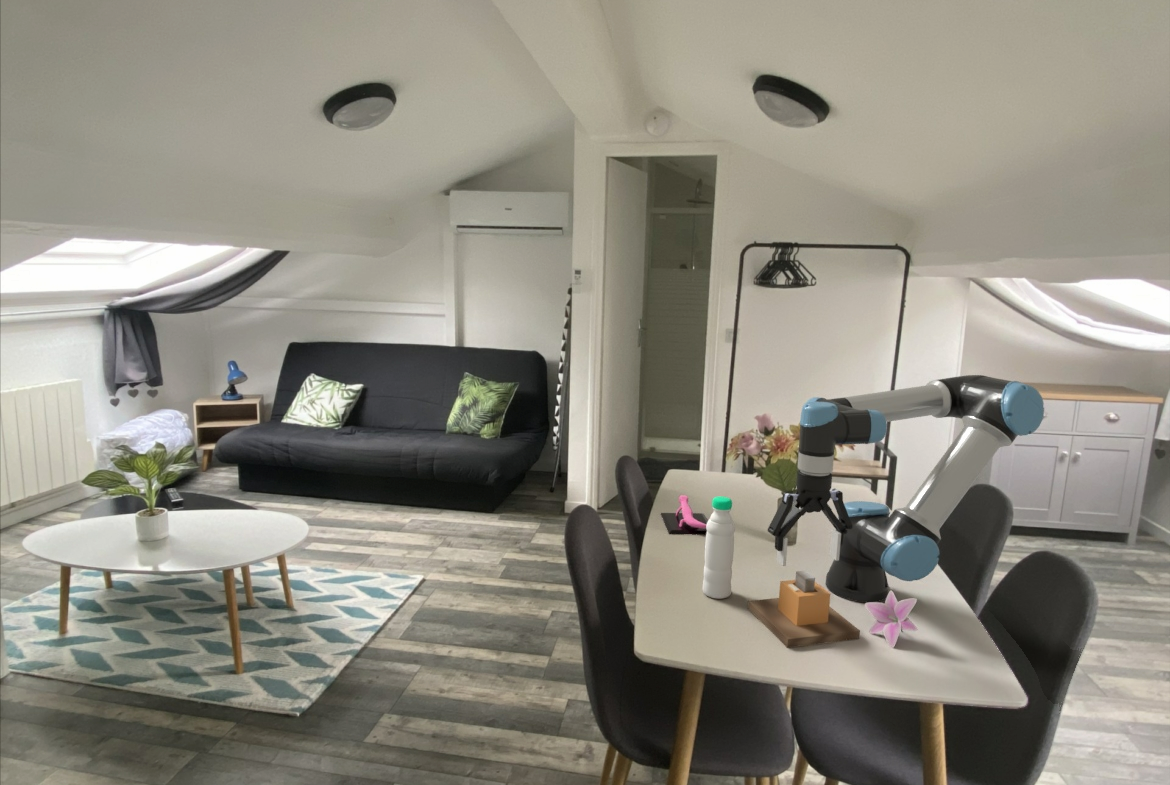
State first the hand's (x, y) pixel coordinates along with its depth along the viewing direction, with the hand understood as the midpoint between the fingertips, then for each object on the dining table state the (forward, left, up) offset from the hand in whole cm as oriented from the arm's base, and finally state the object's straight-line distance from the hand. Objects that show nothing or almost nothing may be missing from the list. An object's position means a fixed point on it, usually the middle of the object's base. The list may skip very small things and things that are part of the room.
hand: (807, 561), depth 158 cm
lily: (-16, +9, -16) cm, 25 cm away
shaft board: (0, 0, -15) cm, 15 cm away
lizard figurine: (+1, -66, -16) cm, 68 cm away
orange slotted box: (0, 0, -13) cm, 13 cm away
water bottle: (+13, -18, -16) cm, 27 cm away
